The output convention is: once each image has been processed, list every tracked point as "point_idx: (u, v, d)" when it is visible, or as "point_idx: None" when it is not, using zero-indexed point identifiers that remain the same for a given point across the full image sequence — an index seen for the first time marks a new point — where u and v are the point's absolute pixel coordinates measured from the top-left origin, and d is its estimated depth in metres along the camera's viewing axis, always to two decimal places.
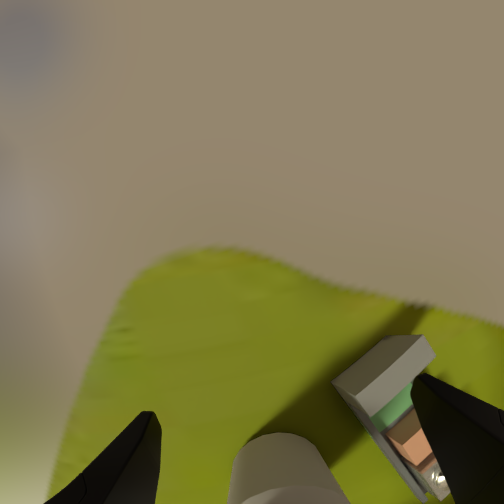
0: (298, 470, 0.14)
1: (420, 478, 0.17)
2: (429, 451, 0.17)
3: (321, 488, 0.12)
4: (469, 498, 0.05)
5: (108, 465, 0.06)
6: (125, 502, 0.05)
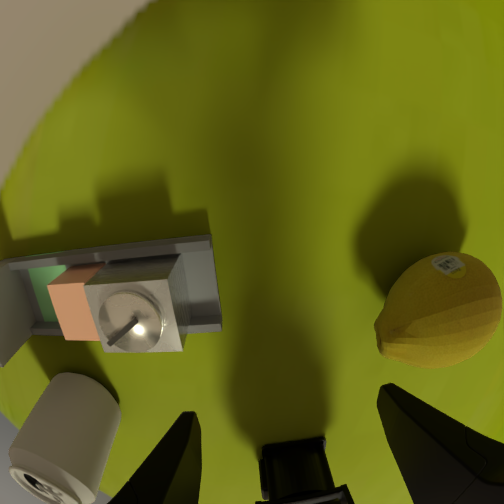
0: None
1: None
2: (91, 318, 0.16)
3: (10, 449, 0.12)
4: None
5: (155, 470, 0.06)
6: None
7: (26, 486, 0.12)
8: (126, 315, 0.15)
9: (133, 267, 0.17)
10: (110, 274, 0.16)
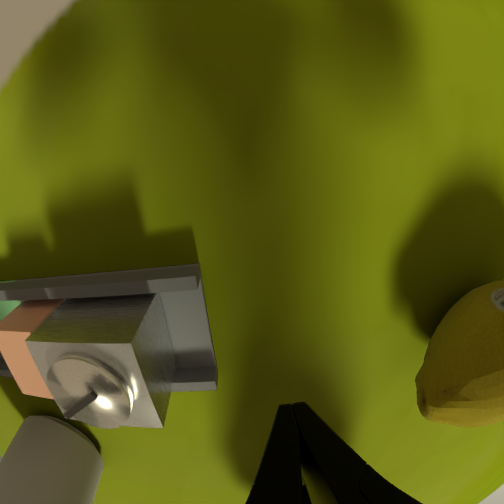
0: None
1: None
2: None
3: None
4: None
5: (276, 467, 0.06)
6: None
7: None
8: (80, 387, 0.09)
9: (91, 313, 0.11)
10: (60, 323, 0.10)
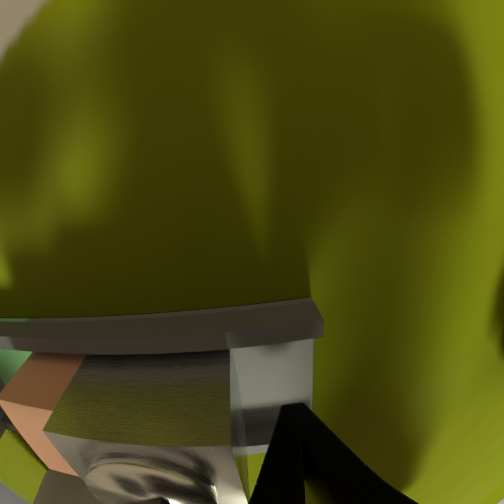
0: None
1: None
2: None
3: None
4: None
5: (278, 467, 0.06)
6: None
7: None
8: (142, 494, 0.05)
9: (139, 381, 0.08)
10: (93, 400, 0.07)
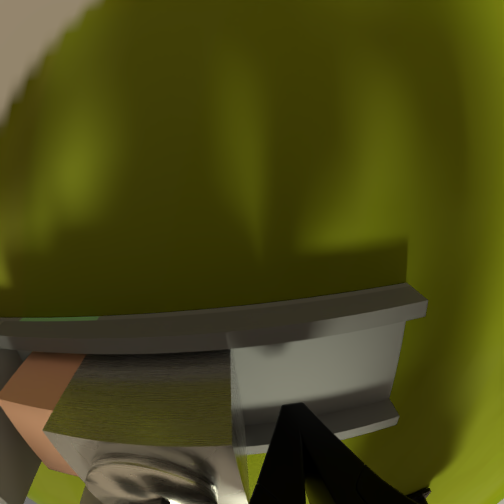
0: None
1: None
2: None
3: None
4: None
5: (279, 467, 0.06)
6: None
7: None
8: (143, 494, 0.05)
9: (139, 381, 0.08)
10: (94, 400, 0.07)
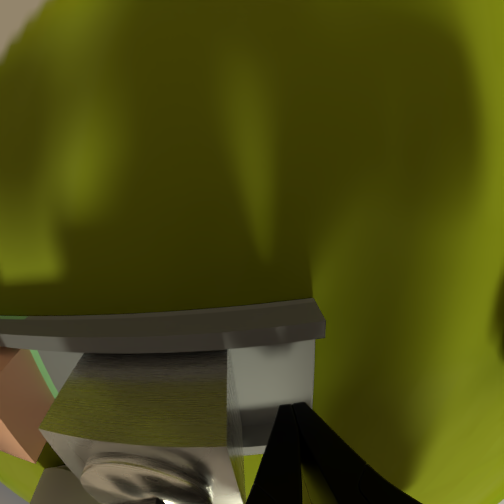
0: None
1: None
2: (12, 438, 0.07)
3: None
4: None
5: (276, 468, 0.06)
6: None
7: None
8: (138, 494, 0.05)
9: (135, 381, 0.08)
10: (90, 399, 0.07)
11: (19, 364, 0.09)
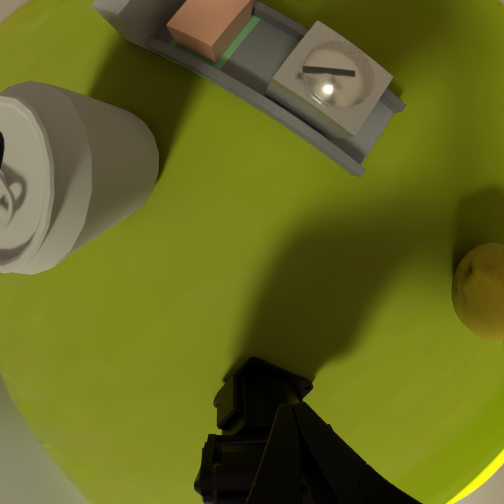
0: None
1: (297, 104, 0.15)
2: (224, 23, 0.13)
3: (14, 86, 0.07)
4: None
5: (276, 467, 0.06)
6: None
7: None
8: (347, 64, 0.12)
9: None
10: None
11: (247, 18, 0.14)
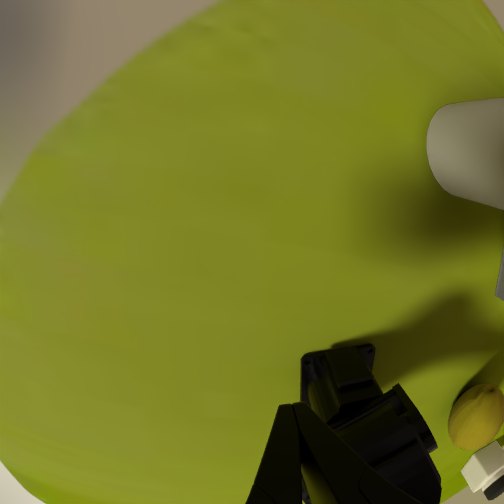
0: None
1: None
2: None
3: None
4: None
5: (276, 467, 0.06)
6: None
7: None
8: None
9: None
10: None
11: None
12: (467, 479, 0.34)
